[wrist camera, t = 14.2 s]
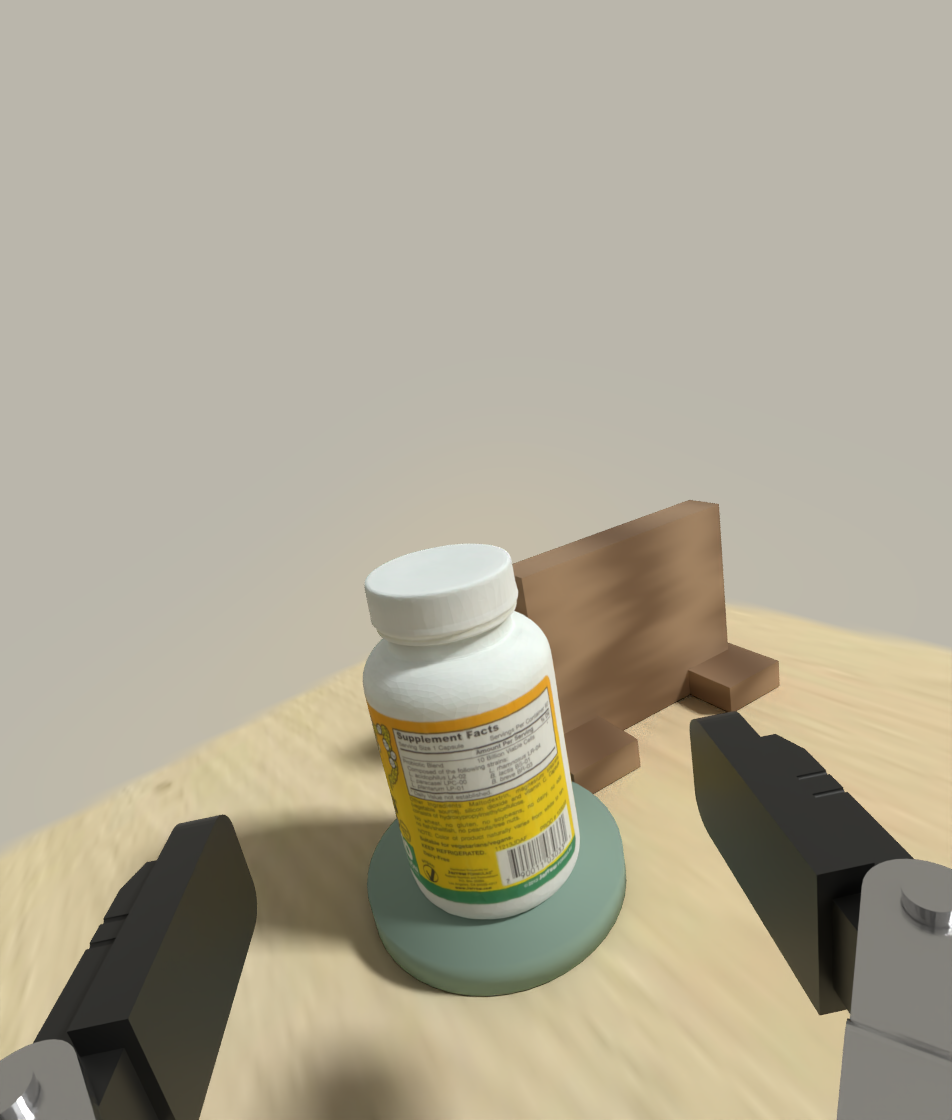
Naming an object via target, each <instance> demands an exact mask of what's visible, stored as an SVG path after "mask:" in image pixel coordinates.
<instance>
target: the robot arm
mask: <svg viewBox="0 0 952 1120" xmlns="http://www.w3.org/2000/svg"><path fill="white" fill-rule="evenodd" d="M690 740H691V752H692V763H693V774H694V786H695V795H696V801H697V805H698V809H699V812H700V816H701V818H702V821H703V823H704V826H705V828H706V830H707V832H708V834H709V835H710V837H711V839H712V840H713V842H714V844H715V845H716V847H717V848H718V850H719V852H720V853H721V855H722V857H723V858H724V860H725V862H726V863H727V865H728V866H729V868H730V870H731V871H732V873H733V875H734V876H735V878H736V880H737V881H738V883H739V884H740V886H741V888H742V889H743V891H744V893H745V894H746V896H747V898H748V899H749V901H750V902H751V904H752V906H753V907H754V909H755V911H756V912H757V914H758V915H759V917H760V919H761V920H762V922H763V924H764V925H765V927H766V929H767V930H768V932H769V933H770V935H771V937H772V938H773V940H774V942H775V943H776V945H777V947H778V948H779V950H780V951H781V953H782V955H783V956H784V958H785V960H786V961H787V963H788V965H789V966H790V968H791V969H792V971H793V973H794V974H795V976H796V978H797V979H798V981H799V983H800V984H801V986H802V987H803V989H804V991H805V992H806V994H807V996H808V997H809V999H810V1001H811V1002H812V1004H813V1005H814V1007H815V1009H816V1010H817V1012H818V1014H819V1015H824V1014H828V1013H833V1012H838V1011H842V1010H848V1011H849V1013H850V1019H847V1022H846V1029H845V1037H844V1047H843V1058H842V1069H841V1079H840V1090H839V1101H838V1111H837V1120H952V869H950V868H947V867H945V866H942V865H939V864H935V863H932V862H928V861H923V860H916V859H914V858H913V857H912V856H911V855H910V854H909V853H908V852H907V851H906V850H905V849H904V848H903V847H902V846H901V845H900V844H899V843H898V842H897V841H896V840H895V839H894V838H893V837H892V836H891V835H890V834H889V833H888V832H887V831H886V830H885V829H884V828H883V827H882V826H881V825H880V824H879V823H878V822H877V821H876V820H875V819H874V818H873V817H872V816H871V815H870V814H869V813H868V812H867V811H866V810H865V809H864V808H863V807H862V806H861V805H860V804H859V803H858V802H857V801H856V800H855V799H854V798H853V797H852V796H851V795H850V794H849V793H848V792H844V790H843V787H842V786H841V785H840V784H839V783H838V782H837V781H836V780H835V779H834V778H833V777H832V776H831V775H830V774H828V775H827V773H826V770H825V769H824V768H823V767H822V766H821V765H820V764H819V763H818V762H817V761H816V760H815V759H814V758H813V757H812V756H811V755H810V754H809V753H808V752H807V751H806V750H805V749H804V748H802V747H800V746H798V745H796V744H794V743H792V742H790V741H788V740H786V739H784V738H782V737H780V736H778V735H777V734H773V735H768V736H763V737H760V736H759V735H758V734H757V732H756V731H755V730H754V729H753V728H752V727H751V726H750V725H749V724H748V723H747V721H746V720H745V719H744V718H743V717H742V716H741V715H740V714H739V713H738V712H736V711H732V712H727V713H722V714H717V715H712V716H708V717H703V718H698V719H693V720H692V721H691V723H690ZM256 916H257V899H256V891H255V887H254V884H253V881H252V878H251V875H250V872H249V869H248V867H247V864H246V861H245V858H244V855H243V853H242V850H241V847H240V844H239V841H238V839H237V836H236V833H235V830H234V827H233V825H232V822H231V821H230V819H229V818H228V817H227V816H226V815H219V816H214V817H209V818H204V819H199V820H194V821H189V822H185V823H180V824H178V825H176V826H175V827H174V829H173V831H172V832H171V834H170V836H169V838H168V840H167V842H166V844H165V846H164V848H163V850H162V851H161V853H160V855H159V857H158V859H157V860H156V861H151V862H146V863H145V864H144V866H143V867H142V868H141V869H140V870H139V871H138V872H137V873H136V874H135V875H134V876H133V877H132V878H131V879H130V880H129V881H128V882H127V883H126V884H125V885H124V886H123V887H122V888H121V889H120V890H119V892H118V894H117V896H116V898H115V899H114V901H113V903H112V905H111V906H110V908H109V910H108V912H107V913H106V915H105V917H104V923H103V924H101V925H100V926H99V928H98V929H97V931H96V933H95V935H94V936H93V938H92V940H91V942H90V948H89V949H87V950H85V952H84V954H83V956H82V958H81V959H80V961H79V963H78V965H77V966H76V968H75V970H74V972H73V973H72V975H71V977H70V979H69V980H68V982H67V984H66V986H65V988H64V989H63V991H62V993H61V995H60V996H59V998H58V1000H57V1002H56V1003H55V1005H54V1007H53V1009H52V1010H51V1012H50V1014H49V1016H48V1018H47V1019H46V1021H45V1023H44V1025H43V1026H42V1028H41V1030H40V1032H39V1033H38V1035H37V1037H36V1039H35V1041H34V1042H33V1044H30V1045H28V1046H25V1047H23V1048H21V1049H19V1050H17V1051H15V1052H13V1053H12V1054H10V1055H9V1056H7V1057H5V1058H4V1059H2V1060H1V1061H0V1120H199V1117H200V1113H201V1110H202V1107H203V1103H204V1100H205V1096H206V1093H207V1089H208V1086H209V1083H210V1079H211V1076H212V1072H213V1069H214V1065H215V1062H216V1058H217V1055H218V1052H219V1048H220V1045H221V1041H222V1038H223V1034H224V1031H225V1028H226V1024H227V1021H228V1017H229V1014H230V1010H231V1007H232V1003H233V1000H234V997H235V993H236V990H237V986H238V983H239V979H240V976H241V973H242V969H243V966H244V962H245V959H246V955H247V952H248V948H249V945H250V942H251V938H252V935H253V931H254V928H255V923H256Z"/></svg>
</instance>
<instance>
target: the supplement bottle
mask: <svg viewBox="0 0 952 1120" xmlns="http://www.w3.org/2000/svg"><path fill="white" fill-rule="evenodd" d="M365 593H366V597H367V603H368V607H369V612H370V617H371V622H372V625H373V626H374V627H375V628H376V629H377V632H378V633H379V635H380V636H381V637H382V638H383V639H382V640H381V641H380V642H379V643H378V644H377V645H376V646H375V647H374V649H373V650H372V652H371V653H370V655H369V657H368V659H367V661H366V664H365V667H364V672H363V687H364V693H365V697H366V701H367V705H368V709H369V713H370V717H371V721H372V725H373V729H374V733H375V737H376V741H377V745H378V748H379V752H380V756H381V760H382V763H383V767H384V771H385V774H386V778H387V782H388V785H389V789H390V793H391V796H392V800H393V804H394V808H395V812H396V817H397V820H398V824H399V828H400V832H401V836H402V840H403V844H404V847H405V851H406V855H407V857H408V861H409V865H410V868H411V871H412V874H413V876H414V878H415V880H416V882H417V884H418V886H419V888H420V889H421V891H422V892H423V893H424V895H425V896H426V897H427V898H428V900H429V901H430V902H432V903H433V904H435V905H436V906H438V907H439V908H441V909H443V910H444V911H446V912H447V913H449V914H452V915H456V916H460V917H464V918H470V919H500V918H506V917H510V916H514V915H517V914H520V913H523V912H525V911H527V910H530V909H532V908H534V907H536V906H538V905H539V904H541V903H542V902H544V901H545V900H547V899H548V898H550V897H551V896H552V895H553V894H554V893H555V892H557V891H558V889H559V888H560V887H561V886H562V885H563V884H564V883H565V882H566V880H567V879H568V877H569V875H570V874H571V872H572V870H573V868H574V866H575V863H576V861H577V858H578V853H579V848H580V834H579V826H578V819H577V813H576V807H575V801H574V794H573V789H572V782H571V776H570V769H569V763H568V757H567V751H566V745H565V738H564V732H563V725H562V719H561V712H560V706H559V699H558V692H557V685H556V679H555V672H554V665H553V660H552V654H551V649H550V646H549V643H548V640H547V638H546V636H545V634H544V633H543V631H542V630H541V629H540V628H539V627H538V626H537V625H536V624H535V623H534V622H533V621H532V620H530V619H529V618H528V617H526V616H524V615H523V614H520V613H518V612H516V611H514V610H515V608H516V604H517V601H516V600H517V598H518V589H517V585H516V582H515V577H514V572H513V566H512V561H511V557H510V555H509V553H508V552H507V551H505V550H504V549H502V548H499V547H496V546H492V545H484V544H457V545H447V546H441V547H435V548H430V549H425V550H422V551H418V552H413V553H410V554H406V555H404V556H401V557H398V558H396V559H393V560H391V561H389V562H387V563H385V564H383V565H381V566H380V567H378V568H376V569H375V570H373V571H372V572H371V573H370V574H369V575H368V577H367V578H366V580H365Z"/></svg>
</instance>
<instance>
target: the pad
mask: <svg viewBox="0 0 952 1120" xmlns="http://www.w3.org/2000/svg"><path fill="white" fill-rule="evenodd" d="M571 782H572V781H571ZM572 789H573V794H574V801H575V807H576V813H577V819H578V826H579V834H580V848H579V853H578V858H577V861H576V863H575V866H574V868H573V870H572V872H571V874H570V875H569V877H568V879H567V880H566V882H565V883H564V884H563V885H562V886H561V887H560V888H559V889H558V891H557V892H555V893H554V894H553V895H552V896H551V897H550V898H548V899H547V900H545V901H544V902H542V903H541V904H539V905H538V906H536V907H534V908H532V909H530V910H527V911H525V912H523V913H520V914H517V915H514V916H510V917H506V918H500V919H470V918H464V917H460V916H456V915H452V914H449V913H447V912H446V911H444V910H443V909H441V908H439V907H438V906H436V905H435V904H433V903H432V902H430V901H429V900H428V898H427V897H426V896H425V895H424V893H423V892H422V891H421V889H420V888H419V886H418V884H417V882H416V880H415V878H414V876H413V874H412V871H411V868H410V865H409V861H408V857H407V855H406V851H405V847H404V844H403V840H402V836H401V832H400V828H399V824H398V820H397V819H396V820H395V821H394V822H393V823H392V824H391V825H390V827H389V828H388V829H387V831H386V832H385V833H384V835H383V836H382V838H381V840H380V842H379V843H378V845H377V847H376V849H375V852H374V854H373V857H372V859H371V863H370V867H369V871H368V882H367V888H368V898H369V901H370V905H371V908H372V912H373V915H374V919H375V922H376V926H377V929H378V933H379V936H380V938H381V940H382V942H383V944H384V946H385V948H386V950H387V951H388V953H389V954H390V955H391V957H392V958H393V959H394V961H395V962H396V963H397V964H398V965H400V966H401V967H402V968H403V969H404V970H405V971H406V972H407V973H409V974H410V975H412V976H413V977H415V978H416V979H418V980H419V981H421V982H424V983H426V984H428V985H430V986H432V987H434V988H438V989H441V990H444V991H447V992H451V993H457V994H463V995H470V996H494V995H503V994H511V993H515V992H519V991H524V990H528V989H531V988H534V987H536V986H539V985H542V984H545V983H547V982H549V981H551V980H553V979H555V978H557V977H559V976H561V975H563V974H565V973H566V972H568V971H569V970H571V969H572V968H574V967H575V966H577V965H578V964H580V963H581V962H582V961H583V960H584V959H586V958H587V957H588V956H589V955H590V954H591V953H592V952H593V951H595V949H596V948H597V947H598V946H599V945H600V944H601V942H602V941H603V940H604V939H605V938H606V936H607V935H608V933H609V932H610V930H611V929H612V927H613V925H614V924H615V922H616V920H617V917H618V915H619V913H620V910H621V908H622V904H623V900H624V896H625V889H626V870H625V861H624V853H623V846H622V840H621V836H620V832H619V828H618V826H617V824H616V822H615V820H614V818H613V816H612V815H611V813H610V812H609V810H608V809H607V807H606V806H605V805H604V804H603V803H602V802H601V801H600V800H599V799H598V798H597V797H596V796H595V795H593V794H592V793H591V792H590V791H588V790H587V789H585V788H583V787H582V786H580V785H579V784H576V783H574V782H572Z"/></svg>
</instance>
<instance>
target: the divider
mask: <svg viewBox="0 0 952 1120" xmlns="http://www.w3.org/2000/svg"><path fill="white" fill-rule="evenodd" d="M512 566H513V572H514V577H515V582H516V585H517V589H518V598H517V600H516V601H517V604H516V608H515V610H514V611H516V612H518V613H520V614H523V615H524V616H526V617H528V618H529V619H530V620H532V621H533V622H534V623H535V624H536V625H537V626H538V627H539V628H540V629H541V630H542V631H543V633H544V634H545V636H546V638H547V640H548V643H549V646H550V649H551V654H552V660H553V665H554V672H555V679H556V685H557V692H558V699H559V706H560V712H561V719H562V725H563V732H564V738H565V745H566V751H567V757H568V763H569V769H570V776H571V781H572V782H574V783H576V784H579V785H580V786H582V787H583V788H585V789H587V790H588V791H590V792H591V793H592V794H594V793H595V792H597V791H599V790H601V789H602V788H604V787H606V786H607V785H609V784H611V783H613V782H614V781H616V780H618V779H620V778H621V777H623V776H625V775H626V774H628V773H630V772H632V771H633V770H635V769H637V768H638V767H640V758H639V749H638V741H637V739H636V738H634V737H633V736H631V735H629V734H628V733H626V732H624V731H623V730H625V729H626V728H628V727H630V726H632V725H634V724H636V723H638V722H639V721H641V720H643V719H645V718H647V717H649V716H651V715H652V714H654V713H656V712H658V711H660V710H662V709H664V708H665V707H667V706H669V705H671V704H673V703H675V702H676V701H678V700H680V699H682V698H684V697H686V696H688V695H689V694H691V695H693V696H695V697H698V698H700V699H702V700H704V701H706V702H708V703H710V704H712V705H714V706H717V707H719V708H721V709H723V710H725V711H727V712H732V711H737V710H738V709H740V708H742V707H744V706H745V705H747V704H749V703H751V702H752V701H754V700H756V699H757V698H759V697H761V696H763V695H764V694H766V693H768V692H770V691H771V690H773V689H775V688H776V687H778V686H779V661H777V660H774V659H772V658H769V657H766V656H763V655H761V654H758V653H755V652H752V651H750V650H747V649H744V648H741V647H738V646H736V645H733V644H730V643H728V642H727V626H726V610H725V595H724V579H723V564H722V547H721V532H720V515H719V504H715V503H707V502H700V501H693V500H688V501H685V502H682V503H680V504H677V505H674V506H672V507H669V508H666V509H663V510H660V511H658V512H655V513H652V514H649V515H646V516H644V517H641V518H638V519H636V520H633V521H630V522H627V523H624V524H622V525H619V526H616V527H613V528H611V529H608V530H605V531H602V532H600V533H597V534H594V535H591V536H589V537H586V538H583V539H580V540H578V541H575V542H572V543H569V544H566V545H564V546H561V547H558V548H555V549H553V550H550V551H547V552H544V553H542V554H539V555H536V556H533V557H530V558H528V559H525V560H522V561H520V562H517V563H514V564H512Z"/></svg>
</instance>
